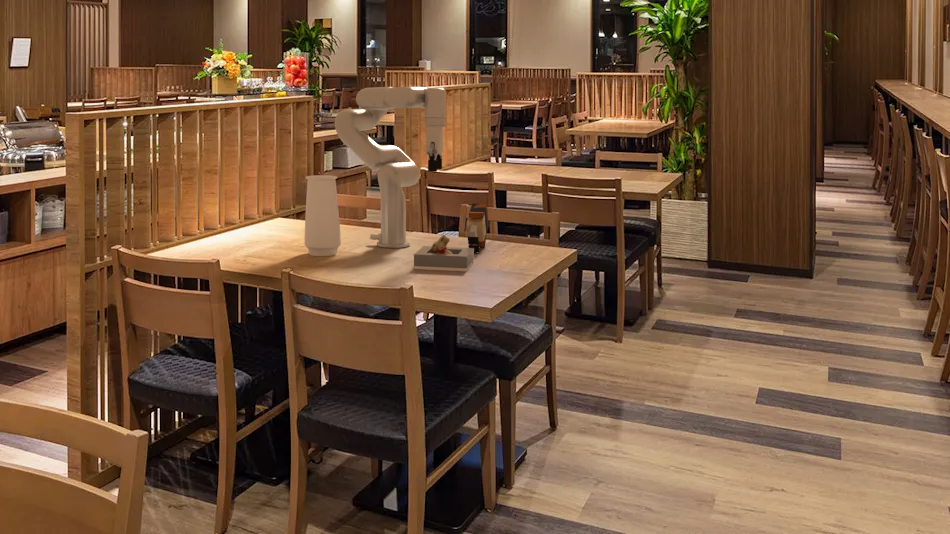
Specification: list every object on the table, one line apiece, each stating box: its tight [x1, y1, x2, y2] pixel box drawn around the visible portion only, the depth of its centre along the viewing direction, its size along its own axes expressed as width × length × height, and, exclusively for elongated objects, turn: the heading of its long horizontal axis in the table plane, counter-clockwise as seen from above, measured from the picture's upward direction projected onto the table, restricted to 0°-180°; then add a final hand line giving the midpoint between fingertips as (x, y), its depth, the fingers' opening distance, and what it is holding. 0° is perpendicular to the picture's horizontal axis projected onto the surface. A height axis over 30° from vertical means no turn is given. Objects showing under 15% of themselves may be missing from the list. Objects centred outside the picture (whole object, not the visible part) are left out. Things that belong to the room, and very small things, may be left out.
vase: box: [304, 174, 342, 257], centre depth 322 cm, size 13×13×28 cm
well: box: [413, 245, 475, 272], centre depth 306 cm, size 18×16×5 cm
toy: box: [466, 202, 490, 253], centre depth 337 cm, size 16×6×20 cm
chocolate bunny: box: [431, 234, 453, 254], centre depth 306 cm, size 6×8×10 cm
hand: (435, 170), depth 325 cm, fingers open, 9 cm apart
